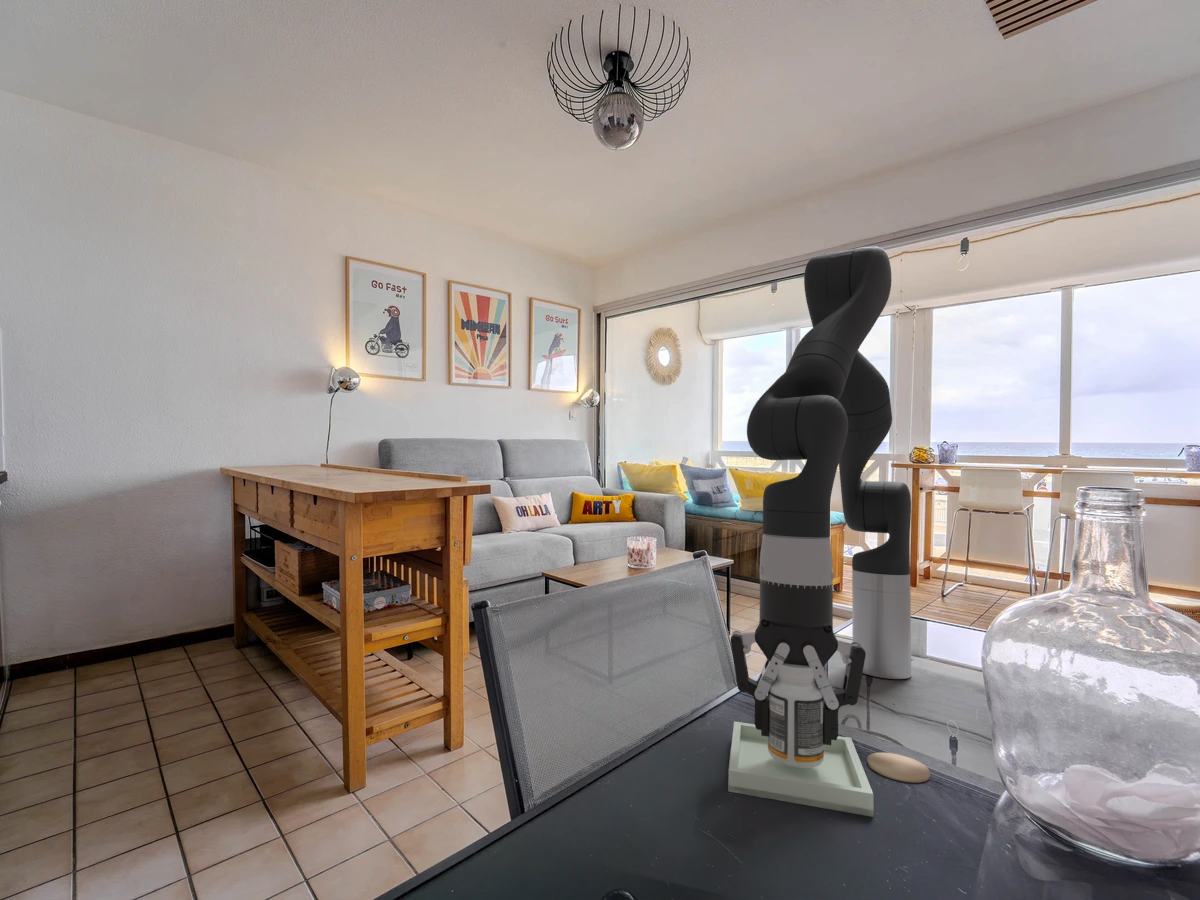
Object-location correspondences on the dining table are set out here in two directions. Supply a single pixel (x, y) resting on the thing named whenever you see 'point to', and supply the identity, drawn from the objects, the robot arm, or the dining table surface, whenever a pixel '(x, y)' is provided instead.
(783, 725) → the pill bottle
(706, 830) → the dining table surface
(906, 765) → the coaster
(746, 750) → the tray
